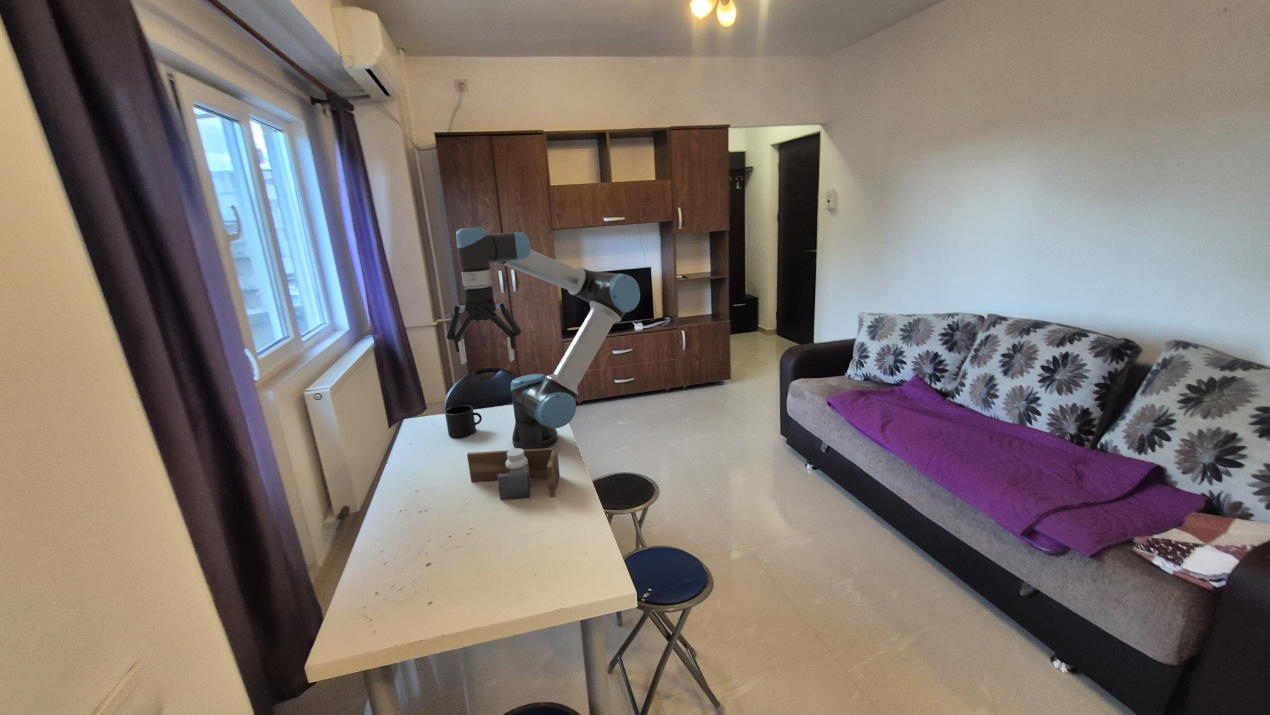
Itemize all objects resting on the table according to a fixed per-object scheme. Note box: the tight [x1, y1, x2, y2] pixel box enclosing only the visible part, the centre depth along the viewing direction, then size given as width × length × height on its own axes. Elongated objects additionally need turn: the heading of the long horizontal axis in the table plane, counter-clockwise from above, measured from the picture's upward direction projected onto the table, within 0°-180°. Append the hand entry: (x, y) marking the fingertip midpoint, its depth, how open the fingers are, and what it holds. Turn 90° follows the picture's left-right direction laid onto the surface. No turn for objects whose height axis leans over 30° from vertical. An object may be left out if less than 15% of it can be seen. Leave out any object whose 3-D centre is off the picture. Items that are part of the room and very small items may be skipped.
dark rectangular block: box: [497, 472, 532, 501], centre depth 141 cm, size 2×8×7 cm, turn 90°
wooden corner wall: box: [466, 447, 561, 498], centre depth 146 cm, size 12×26×9 cm, turn 90°
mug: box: [444, 404, 483, 439], centre depth 186 cm, size 9×12×9 cm
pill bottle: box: [506, 447, 532, 487], centre depth 145 cm, size 6×6×11 cm
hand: (488, 361), depth 147 cm, fingers open, 13 cm apart
